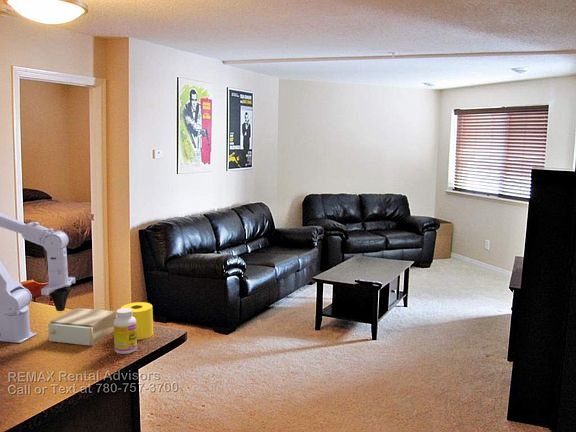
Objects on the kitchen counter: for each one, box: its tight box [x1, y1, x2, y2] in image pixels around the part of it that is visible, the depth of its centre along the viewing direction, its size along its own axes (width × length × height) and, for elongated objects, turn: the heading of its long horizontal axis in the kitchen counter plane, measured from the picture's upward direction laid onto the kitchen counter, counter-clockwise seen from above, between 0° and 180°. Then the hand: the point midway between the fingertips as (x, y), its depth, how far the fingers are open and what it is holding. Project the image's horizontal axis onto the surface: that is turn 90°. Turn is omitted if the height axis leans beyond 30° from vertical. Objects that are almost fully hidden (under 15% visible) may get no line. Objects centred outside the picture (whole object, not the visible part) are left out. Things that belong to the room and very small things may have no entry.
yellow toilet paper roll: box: [120, 301, 154, 341], centre depth 179 cm, size 10×10×9 cm
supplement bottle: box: [113, 307, 138, 355], centre depth 166 cm, size 7×7×13 cm
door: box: [47, 322, 95, 347], centre depth 170 cm, size 16×2×6 cm, turn 76°
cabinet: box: [50, 307, 117, 345], centre depth 178 cm, size 15×14×6 cm
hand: (60, 310), depth 174 cm, fingers closed
